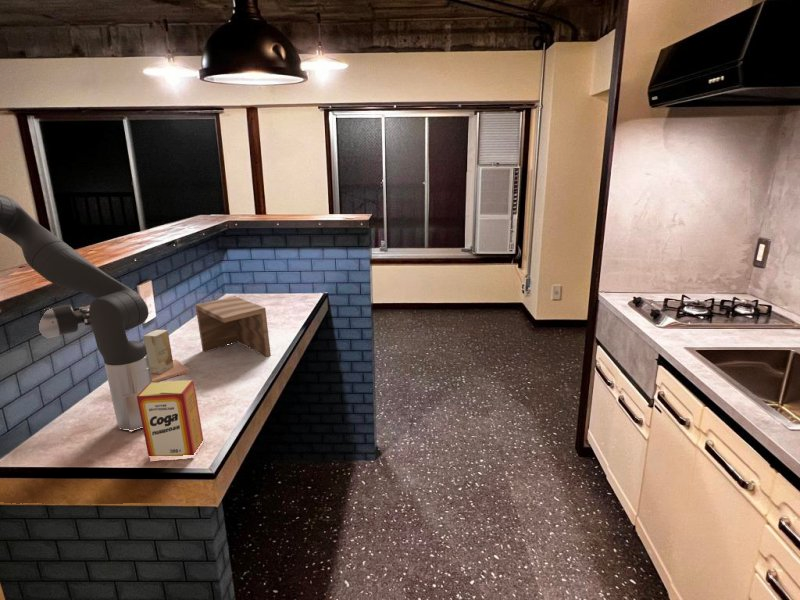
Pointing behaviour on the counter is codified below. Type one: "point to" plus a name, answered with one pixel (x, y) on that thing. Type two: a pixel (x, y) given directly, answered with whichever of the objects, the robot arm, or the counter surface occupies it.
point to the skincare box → (158, 351)
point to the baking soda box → (170, 418)
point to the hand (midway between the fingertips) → (120, 307)
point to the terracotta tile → (170, 372)
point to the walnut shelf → (233, 324)
